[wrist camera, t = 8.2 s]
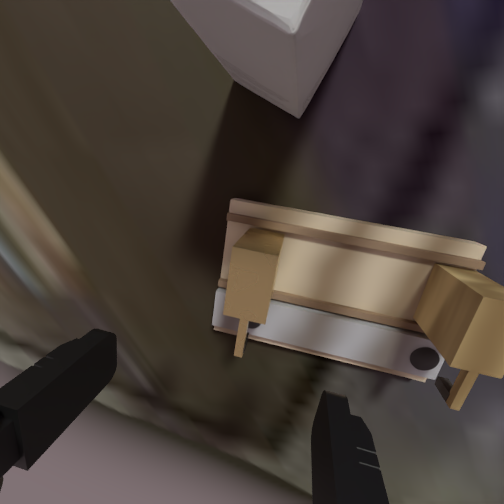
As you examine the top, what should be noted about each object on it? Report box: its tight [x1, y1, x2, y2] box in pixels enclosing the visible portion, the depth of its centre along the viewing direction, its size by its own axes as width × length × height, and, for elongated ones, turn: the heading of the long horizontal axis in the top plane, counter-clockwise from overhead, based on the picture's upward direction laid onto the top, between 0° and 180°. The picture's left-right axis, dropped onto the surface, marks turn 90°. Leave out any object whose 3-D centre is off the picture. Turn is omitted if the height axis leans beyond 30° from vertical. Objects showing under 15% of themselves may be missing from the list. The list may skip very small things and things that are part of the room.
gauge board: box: [212, 198, 504, 410], centre depth 21 cm, size 20×13×8 cm, turn 81°
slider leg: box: [223, 228, 285, 358], centre depth 21 cm, size 3×8×6 cm, turn 171°
